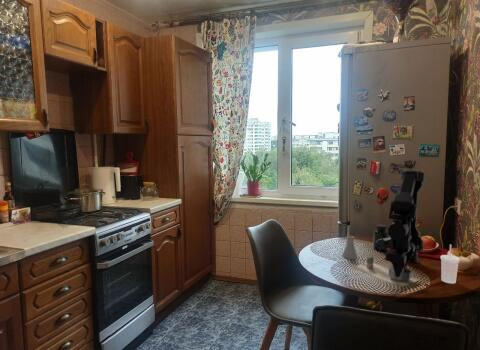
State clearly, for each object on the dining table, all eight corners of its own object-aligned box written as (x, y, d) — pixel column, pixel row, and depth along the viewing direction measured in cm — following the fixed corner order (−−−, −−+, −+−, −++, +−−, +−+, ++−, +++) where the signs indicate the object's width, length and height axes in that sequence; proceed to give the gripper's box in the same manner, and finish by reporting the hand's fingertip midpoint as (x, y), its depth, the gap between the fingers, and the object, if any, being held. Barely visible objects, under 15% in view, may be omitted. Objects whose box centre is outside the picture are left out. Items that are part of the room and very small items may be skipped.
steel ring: (392, 271, 130) (392, 265, 130) (412, 275, 125) (412, 269, 125) (387, 277, 124) (387, 270, 124) (407, 282, 120) (408, 275, 120)
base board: (369, 263, 143) (370, 250, 142) (420, 282, 124) (421, 266, 124) (350, 269, 137) (351, 255, 136) (401, 289, 118) (401, 273, 118)
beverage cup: (451, 285, 121) (453, 248, 120) (435, 279, 127) (437, 243, 126) (462, 282, 124) (464, 245, 122) (446, 276, 129) (448, 241, 128)
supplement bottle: (389, 249, 162) (390, 224, 161) (387, 253, 156) (388, 228, 155) (374, 246, 166) (375, 223, 165) (371, 250, 160) (372, 226, 159)
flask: (359, 262, 145) (360, 239, 144) (342, 260, 147) (342, 238, 146) (357, 256, 152) (357, 235, 151) (340, 255, 154) (341, 234, 153)
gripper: (385, 224, 135) (384, 261, 137) (371, 235, 121) (369, 276, 123) (416, 229, 129) (414, 268, 130) (404, 240, 114) (402, 284, 116)
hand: (399, 273), depth 125 cm, fingers closed on steel ring, 7 cm apart
